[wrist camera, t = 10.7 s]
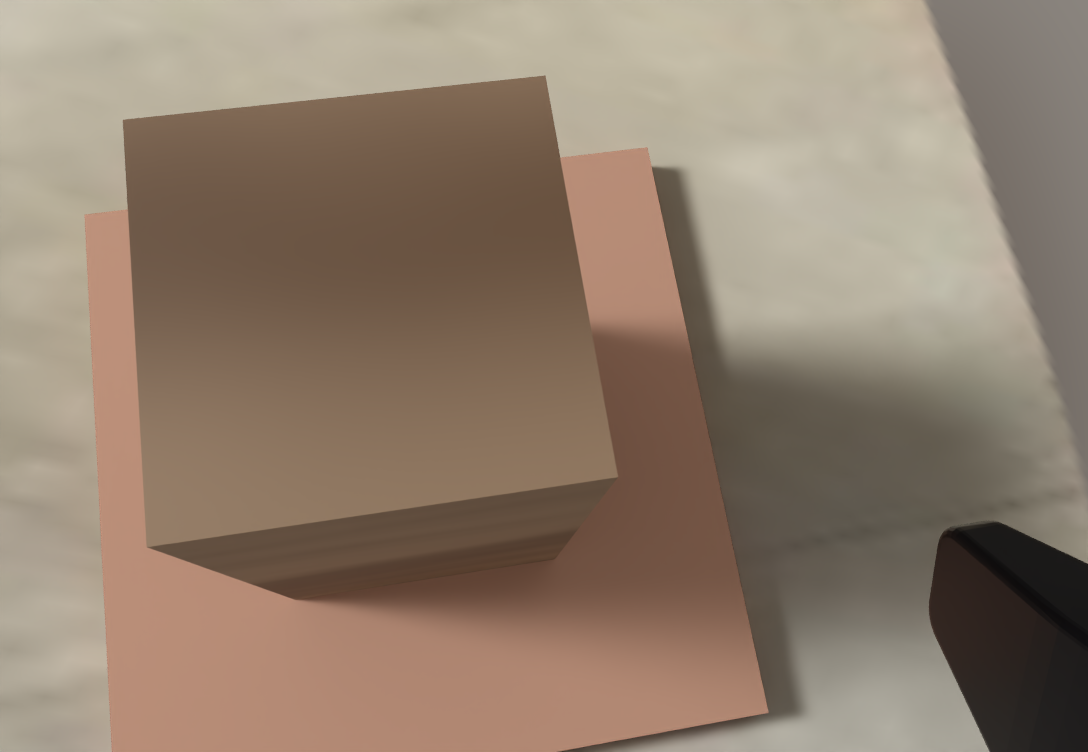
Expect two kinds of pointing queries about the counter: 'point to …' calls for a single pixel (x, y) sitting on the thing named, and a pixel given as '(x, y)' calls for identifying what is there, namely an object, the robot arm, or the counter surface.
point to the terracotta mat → (458, 600)
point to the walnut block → (362, 338)
